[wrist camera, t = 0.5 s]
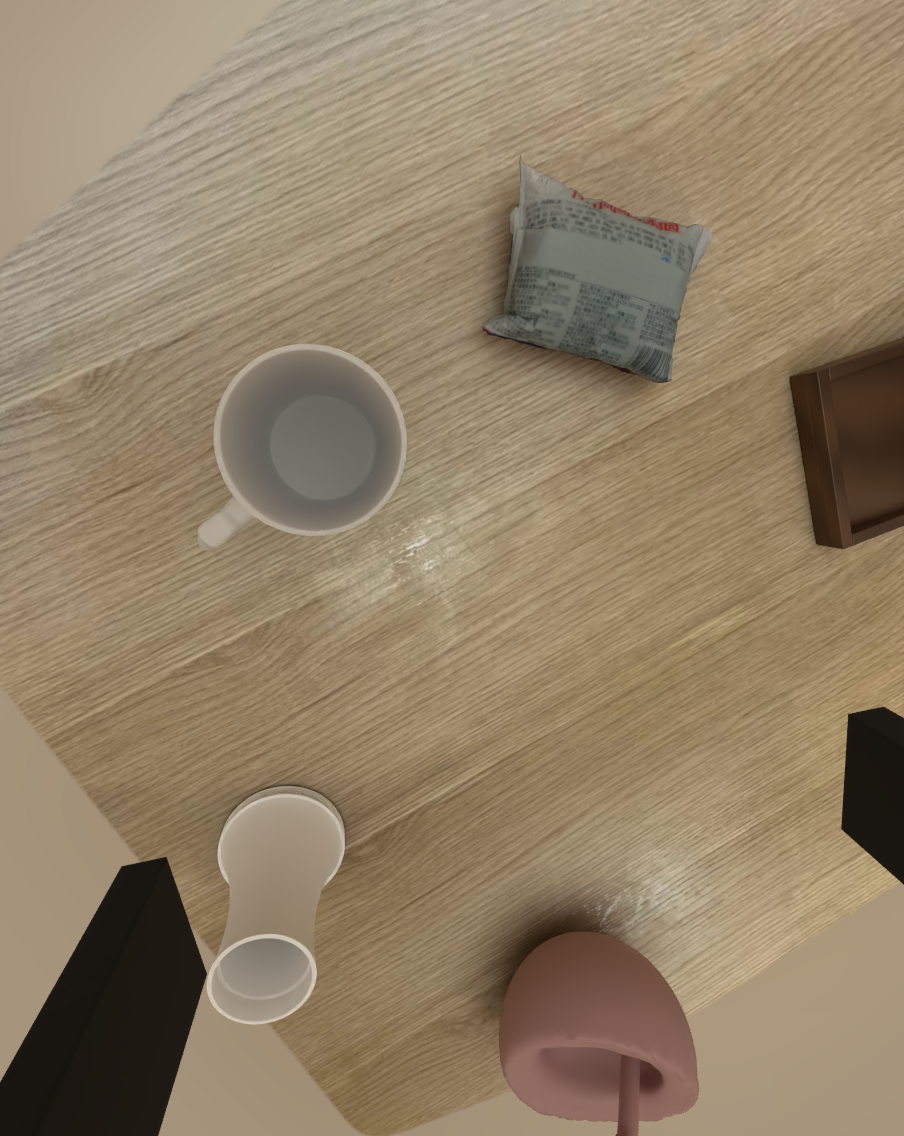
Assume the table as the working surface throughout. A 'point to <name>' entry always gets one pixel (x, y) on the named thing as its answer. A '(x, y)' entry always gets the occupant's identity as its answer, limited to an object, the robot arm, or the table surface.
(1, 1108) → the robot arm
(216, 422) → the mug
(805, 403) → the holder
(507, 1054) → the mortar and pestle
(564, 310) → the packaged food
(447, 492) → the table surface
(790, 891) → the table surface
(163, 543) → the table surface
